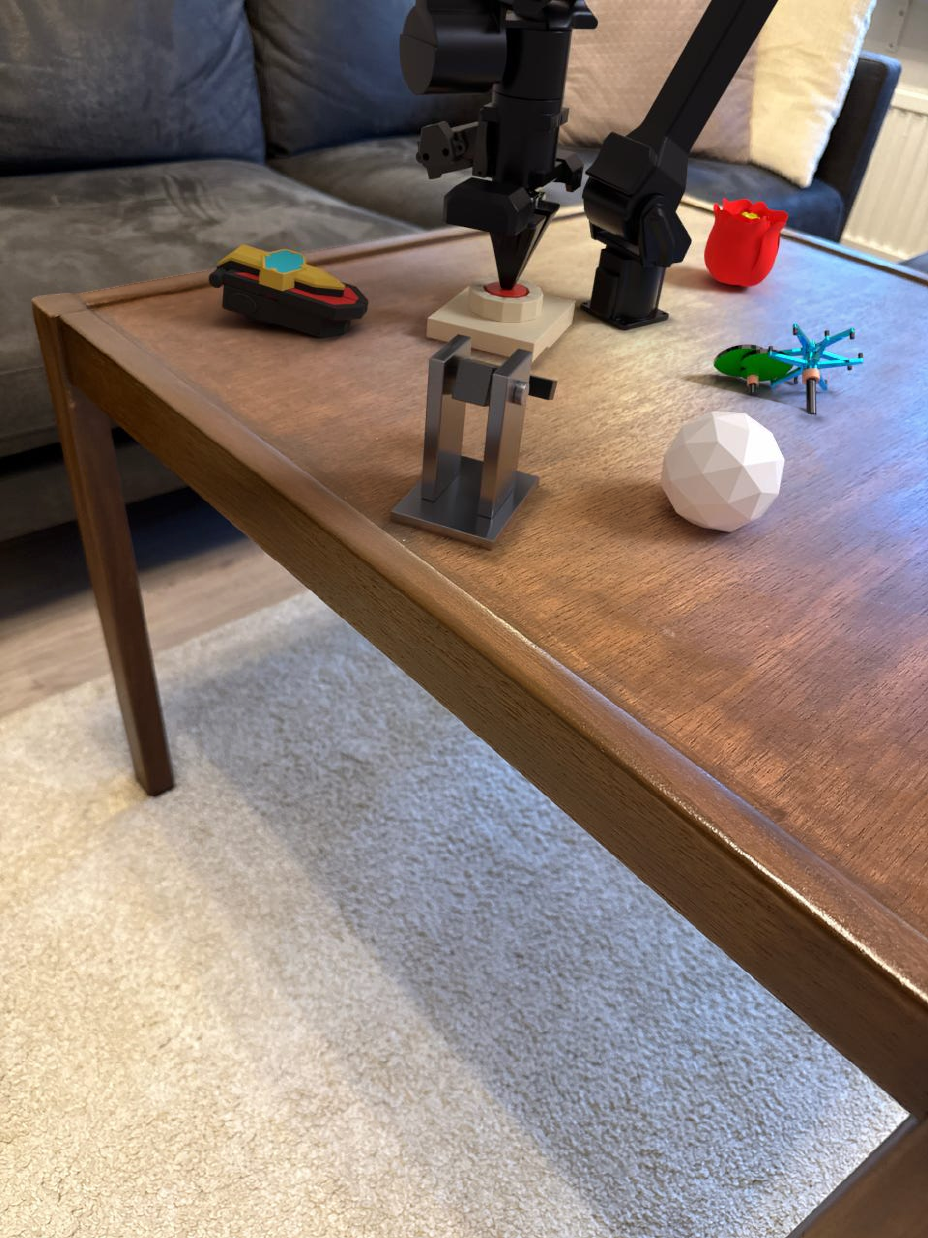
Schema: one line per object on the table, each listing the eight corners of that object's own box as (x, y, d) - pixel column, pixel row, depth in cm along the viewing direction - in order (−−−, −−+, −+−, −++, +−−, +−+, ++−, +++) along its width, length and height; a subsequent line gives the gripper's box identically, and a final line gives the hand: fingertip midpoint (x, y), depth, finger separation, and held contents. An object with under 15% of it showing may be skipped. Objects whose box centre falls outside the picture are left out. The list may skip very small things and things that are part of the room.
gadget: (348, 360, 83) (358, 299, 79) (204, 314, 83) (208, 251, 79) (368, 333, 88) (379, 275, 84) (232, 290, 88) (237, 230, 84)
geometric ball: (699, 570, 65) (690, 519, 58) (649, 479, 68) (634, 421, 61) (804, 520, 64) (807, 462, 57) (748, 430, 67) (744, 365, 60)
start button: (493, 297, 88) (495, 278, 87) (529, 305, 87) (531, 286, 86) (478, 309, 85) (480, 289, 84) (516, 317, 84) (518, 298, 83)
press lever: (485, 390, 68) (492, 356, 67) (551, 407, 66) (559, 373, 66) (429, 392, 57) (437, 352, 57) (506, 413, 56) (515, 372, 55)
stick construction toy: (859, 363, 83) (865, 309, 76) (861, 435, 80) (868, 385, 73) (717, 375, 86) (710, 324, 79) (715, 444, 84) (709, 398, 77)
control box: (475, 300, 93) (479, 259, 91) (572, 323, 91) (578, 281, 88) (425, 341, 84) (428, 297, 82) (531, 367, 82) (537, 322, 79)
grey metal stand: (445, 465, 67) (457, 317, 61) (537, 491, 66) (560, 342, 59) (390, 526, 61) (396, 367, 54) (491, 557, 59) (510, 397, 52)
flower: (778, 284, 105) (800, 208, 100) (755, 302, 99) (777, 223, 94) (711, 266, 108) (729, 192, 103) (686, 283, 102) (703, 205, 97)
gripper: (477, 63, 84) (463, 243, 94) (385, 93, 70) (380, 301, 80) (597, 82, 81) (570, 266, 91) (525, 118, 68) (502, 330, 77)
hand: (507, 288), depth 85 cm, fingers closed, pressing on start button
